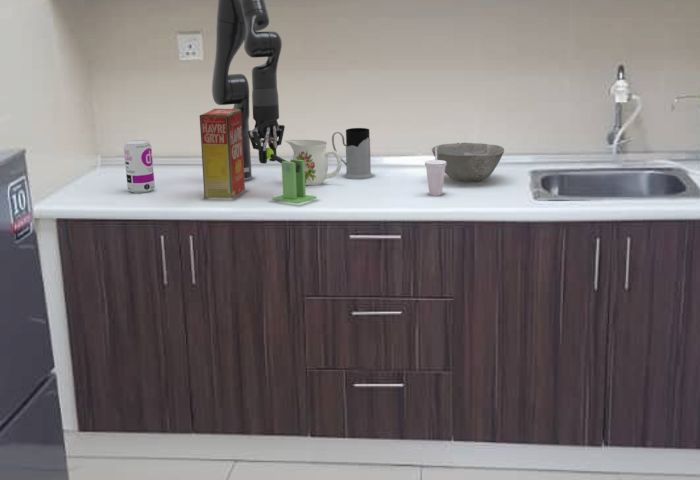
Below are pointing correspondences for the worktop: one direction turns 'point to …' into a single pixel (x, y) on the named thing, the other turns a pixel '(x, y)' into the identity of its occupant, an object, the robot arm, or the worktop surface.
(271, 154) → the switch lever
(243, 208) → the worktop surface
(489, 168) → the ceramic bowl
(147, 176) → the supplement can
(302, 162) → the green crank stand
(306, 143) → the pitcher
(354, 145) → the glass holder
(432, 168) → the smoothie
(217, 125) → the food packaging
